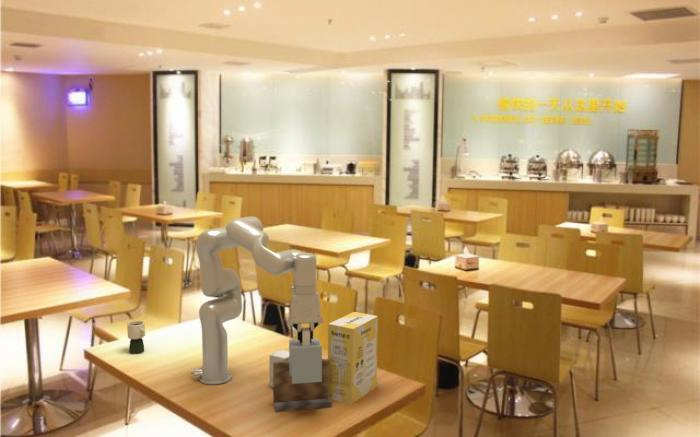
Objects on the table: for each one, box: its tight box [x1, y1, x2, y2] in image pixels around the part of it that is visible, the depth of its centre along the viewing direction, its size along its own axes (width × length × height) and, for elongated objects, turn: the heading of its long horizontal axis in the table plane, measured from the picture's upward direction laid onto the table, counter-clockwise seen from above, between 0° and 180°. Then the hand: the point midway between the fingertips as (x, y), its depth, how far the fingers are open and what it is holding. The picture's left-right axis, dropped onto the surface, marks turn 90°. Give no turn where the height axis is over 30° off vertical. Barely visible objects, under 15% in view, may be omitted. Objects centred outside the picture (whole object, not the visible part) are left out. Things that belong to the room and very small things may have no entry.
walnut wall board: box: [272, 358, 333, 413], centre depth 228 cm, size 20×8×15 cm, turn 102°
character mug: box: [126, 320, 146, 354], centre depth 278 cm, size 11×7×13 cm, turn 58°
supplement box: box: [268, 349, 289, 388], centre depth 245 cm, size 7×7×13 cm
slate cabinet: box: [288, 326, 323, 384], centre depth 221 cm, size 10×9×18 cm
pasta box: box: [327, 311, 379, 405], centre depth 238 cm, size 18×10×28 cm, turn 149°
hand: (305, 341), depth 221 cm, fingers closed on slate cabinet, 2 cm apart
